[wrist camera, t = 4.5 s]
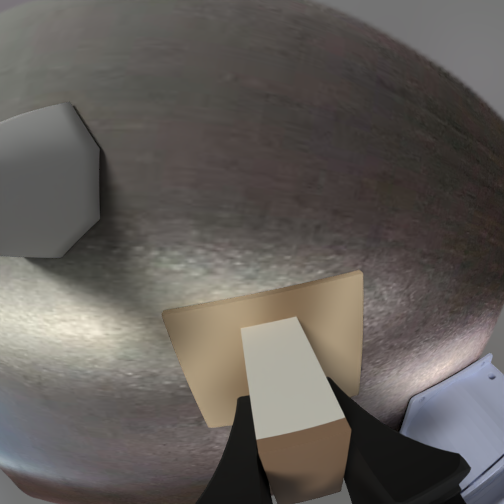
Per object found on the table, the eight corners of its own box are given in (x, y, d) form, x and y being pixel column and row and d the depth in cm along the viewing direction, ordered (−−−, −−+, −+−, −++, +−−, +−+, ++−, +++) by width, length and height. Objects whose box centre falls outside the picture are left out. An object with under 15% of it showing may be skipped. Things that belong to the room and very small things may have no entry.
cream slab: (296, 316, 12) (351, 429, 6) (304, 392, 14) (340, 491, 7) (240, 328, 12) (258, 453, 6) (258, 402, 14) (278, 506, 7)
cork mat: (359, 270, 12) (362, 273, 12) (356, 390, 15) (358, 394, 14) (163, 310, 12) (161, 315, 12) (209, 423, 14) (208, 428, 14)
